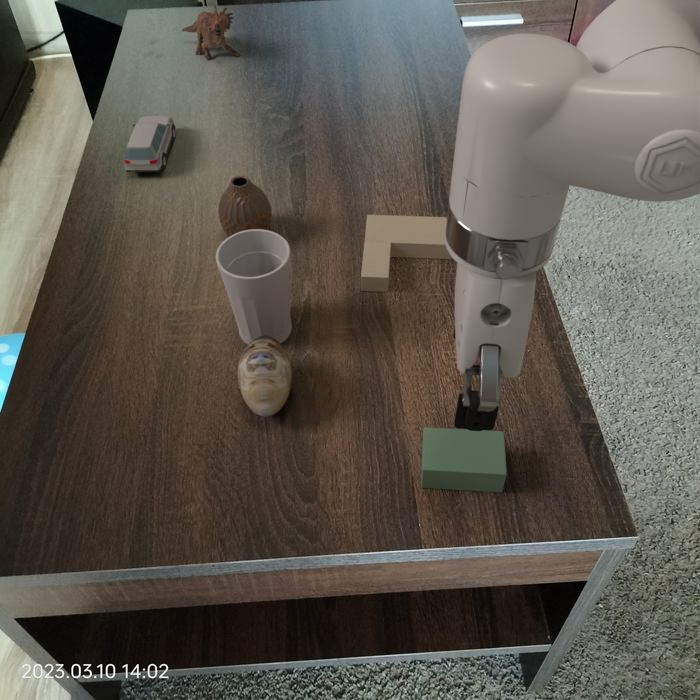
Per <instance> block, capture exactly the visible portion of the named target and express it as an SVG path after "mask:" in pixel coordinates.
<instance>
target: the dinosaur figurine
mask: <svg viewBox="0 0 700 700" xmlns="http://www.w3.org/2000/svg"><path fill="white" fill-rule="evenodd" d="M217 9H218V8H217V6H216V5H213V12H212V11H208V12H207V11H202V12H201V13H199V14H198V16H197V19H196V20H195V21H194V23H192V25H189V26H186V27H183V28H182V29H181V32H187V33H196V34H197V37H196V38H197V46H196V51H195V52H194V53H195V55H199V56H201V55H202V54H203V55H204V54H205V55H204V57H205V59H206V61H211V60H213V59H214V57H213V56H212V55H211V54H210V49H208V48H209V47H210V48H211V49H212V48H214V49H215V48H217V49H218V48H221V47H223V49H225V50H226V51H229V52H230V53H232V54H233V56H234V57H239V56H241V52H239V51H237V50H236V49H235V48H234V47H232V46H231V45H229V44H228V43H227V42H226V37H225V33H228V31H230V29H231V25H232V24H234V22H233V20H234V19H235V18H234V17H233V16H232V15H234V13H233V12H228V13H226V10H228V7H224V8H222V10H221V11H219V12H218V10H217Z"/></svg>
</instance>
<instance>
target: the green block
mask: <svg viewBox="0 0 700 700" xmlns="http://www.w3.org/2000/svg"><path fill="white" fill-rule="evenodd" d="M422 430H423V431H422V443H421V467H420V469H421V470H420V471H421V475H420V476H421V477H420V488H421V489H432V490H433V489H436V490H449V491H450V490H451V491H467V492H483V493H484V492H485V493H499V494H500V493H503V490H504V487H505V482H506V479H507V476H508V469H507V457H506V456H507V454H506V442H505V441H506V440H505V431H504V430H503V431H501V430H483V431H470V430H468V429H458V428H447V427H430V426H429V427H427V426H426V427H425V426H424V427H423V429H422Z"/></svg>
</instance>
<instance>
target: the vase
mask: <svg viewBox="0 0 700 700" xmlns="http://www.w3.org/2000/svg"><path fill="white" fill-rule="evenodd" d="M218 218H219V222H220V226H221V228H222V229H223V231H224V233H225V234H226V235H227V237H230V236H231V235H233V234H236V233H238V232H241V231H245V230H251V229H263V230H269V231H270V228H271V225H272V222H273V221H272V219H273V213H272V207H271V203H270V201H269V198H268V196H267V195H266V193H265V192H264V191H263V190H262V189H261V188H260V187H259V186H257V185H256V184H255V183H253V182H252V181H251V180H250V178H249V177H248V176H245V175H237V176H234V177H232V179H231V180H230V182H229V185H228V187H226V189H225V191H224V192H223V193H222V195H221V197H220V200H219V204H218Z"/></svg>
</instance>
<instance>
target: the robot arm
mask: <svg viewBox="0 0 700 700" xmlns="http://www.w3.org/2000/svg"><path fill="white" fill-rule="evenodd" d="M582 33H583V34H582V35H581V36H580V38H579V40H578V42H577V44H576V46H575V45H574V44H572V43H570V42H569V41H566V40H564V39H561V38H558V37H554V36H551V35H547V34H539V33H529V32H528V33H511V34H506V35H502V36H499V37H496V38H493V39H491V40H490V41H487V42H485V43H483V44H482V45H480V47H479V48H477V49H476V50H475V52H473V54H472V55H471V57H470V58H469V60H468V62H467V64H466V65H465V69H464V73H463V78H462V85H461V92H460V100H459V101H460V102H459V109H458V118H457V127H456V137H455V145H454V152H453V161H452V169H451V170H452V171H451V179H450V189H449V196H448V197H449V198H448V206H447V214H446V217H447V222H446V231H445V245H446V248H447V251H448V252H449V254H450V255H451V257H452V258H453V259H452V260H454V261H455V262H456V263H457V264H456V272H455V282H454V325H453V332H452V333H453V334H452V336H453V339H454V340H455V354H456V356H455V357H456V369H457V370H458V372H459V373H460V374H462V376H463V387H462V393H458V397H457V402H456V409H455V415H454V422H453V423H454V428H455V429H467V430H470V431H483V430H486V431H494V429H495V425H496V421H497V417H498V413H499V409H500V405H501V391H502V390H501V389H502V378H504V379H516V378H517V377H518V376H519V375H520V373H521V371H522V367H523V363H524V356H525V352H526V346H527V342H528V338H529V337H528V336H529V331H530V327H531V321H532V314H533V309H534V301H535V295H536V294H535V292H536V284H537V272H538V271H539V270H541V269H542V268H543V267H544V266H545V265H546V264H547V263H548V262H549V261H550V259H551V257H552V254H553V251H554V246H555V243H556V239H557V235H558V230H559V228H560V223H561V220H562V216H563V211H564V208H565V204H566V200H567V198H568V194H569V190H570V186H571V187H572V186H573V187H577V188H581V189H586V190H591V191H595V192H598V193H603V194H608V195H612V196H616V197H619V198H624V199H629V200H636V201H642V202H643V201H644V202H654V203H655V202H656V203H657V202H658V203H659V202H661V203H663V202H674V201H680V200H684V199H688V198H692V197H694V196H697V195H699V194H700V0H614V1H613V2H612V3H611V4H609V5H608V6H607V7H606V8H604V10H602V12H600V13H598V14H597V16H596V17H595V18H593V20H592V22H591V23H590V24H588V26H587V27H586V29H585V30H584V31H583V32H582ZM478 358H479V364H476V363H477V362H478ZM473 376H478V390H473V389H472V387H473V386H472V385H473Z"/></svg>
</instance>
